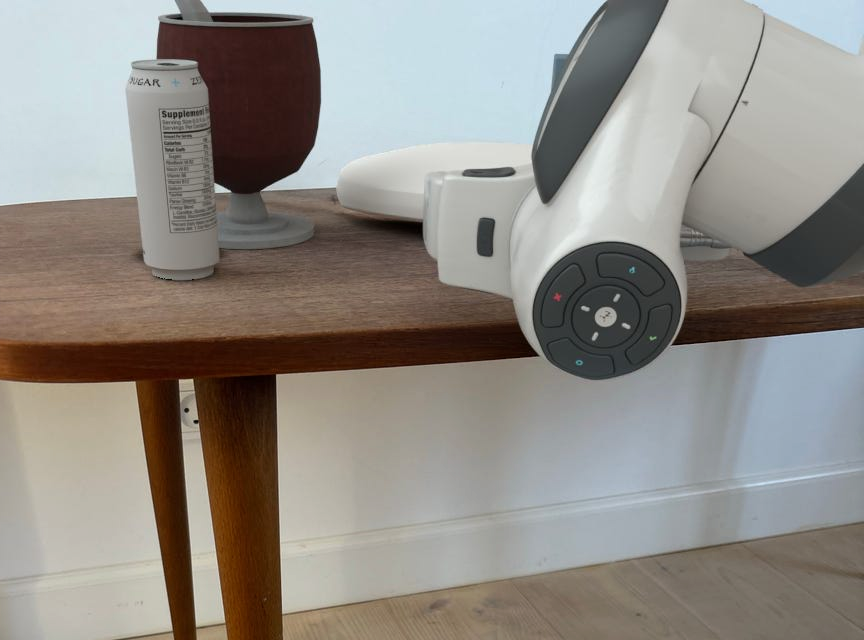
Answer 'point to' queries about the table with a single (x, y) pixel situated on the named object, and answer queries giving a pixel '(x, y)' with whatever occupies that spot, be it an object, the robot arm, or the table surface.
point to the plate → (416, 174)
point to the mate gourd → (252, 109)
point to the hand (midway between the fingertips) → (571, 188)
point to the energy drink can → (173, 167)
